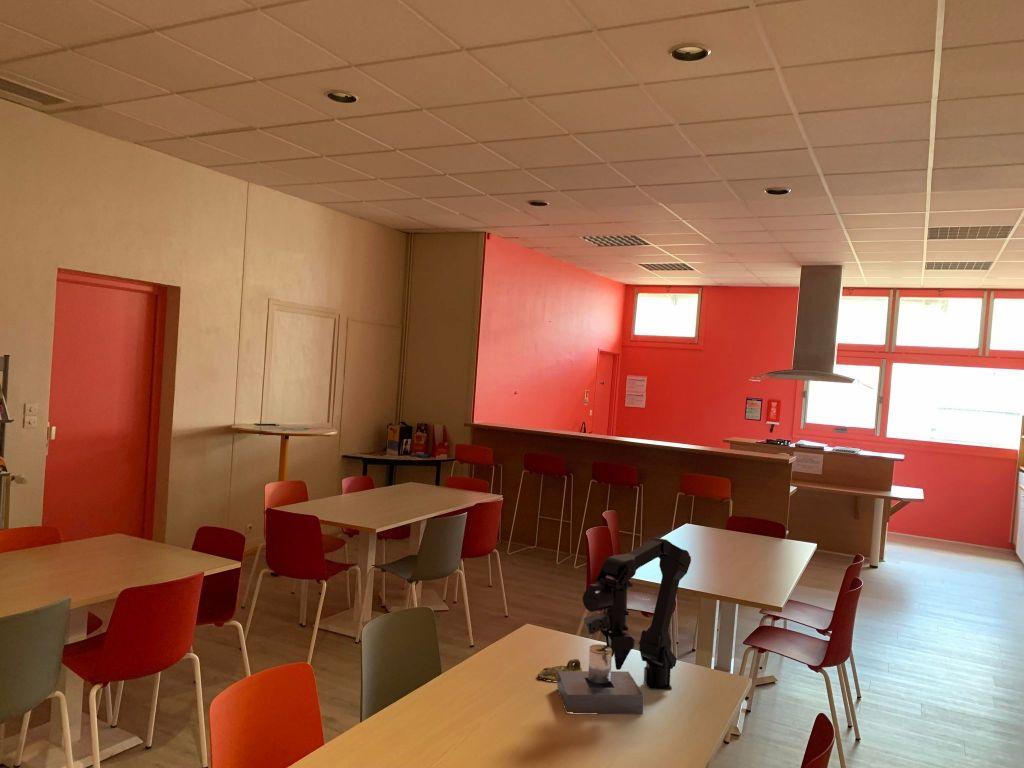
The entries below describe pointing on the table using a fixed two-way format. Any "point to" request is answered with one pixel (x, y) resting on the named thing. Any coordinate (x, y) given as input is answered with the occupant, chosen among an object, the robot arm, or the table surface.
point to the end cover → (600, 663)
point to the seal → (553, 672)
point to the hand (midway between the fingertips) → (614, 662)
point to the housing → (600, 693)
